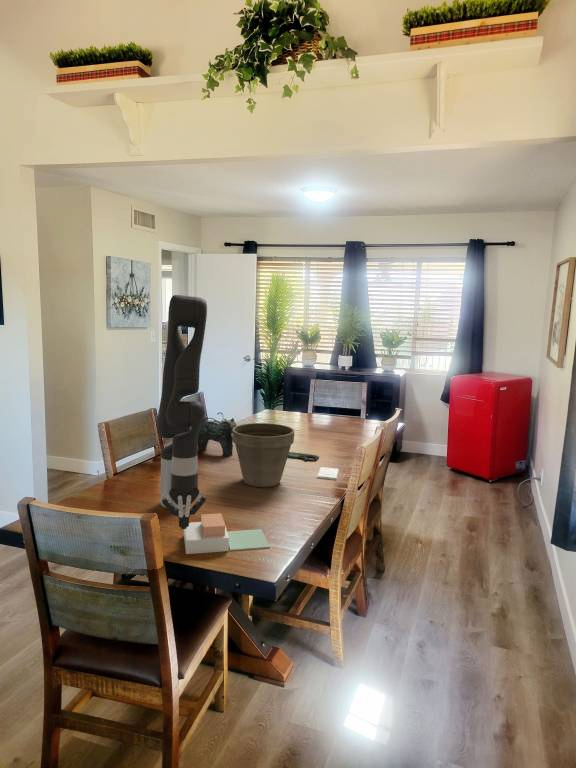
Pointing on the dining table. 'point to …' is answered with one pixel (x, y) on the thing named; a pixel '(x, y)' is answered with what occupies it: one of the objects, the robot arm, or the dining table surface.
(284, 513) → the dining table surface
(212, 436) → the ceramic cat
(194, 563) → the dining table surface
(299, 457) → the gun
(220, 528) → the terracotta tile
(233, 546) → the green mat
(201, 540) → the block
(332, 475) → the external hard drive
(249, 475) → the plant pot
